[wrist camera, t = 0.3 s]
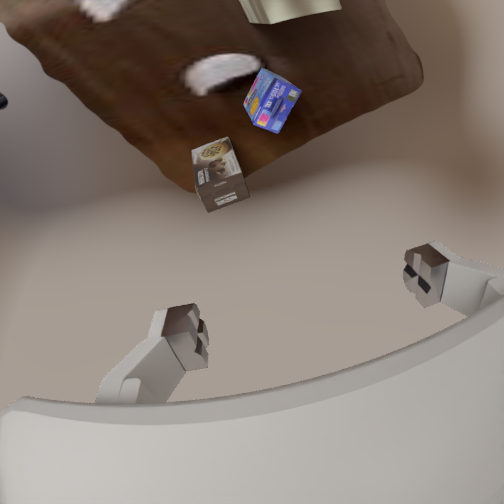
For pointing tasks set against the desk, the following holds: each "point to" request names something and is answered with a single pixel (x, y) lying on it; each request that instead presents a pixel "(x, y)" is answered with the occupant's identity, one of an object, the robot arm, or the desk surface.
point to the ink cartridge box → (270, 100)
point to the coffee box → (218, 175)
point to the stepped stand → (284, 9)
